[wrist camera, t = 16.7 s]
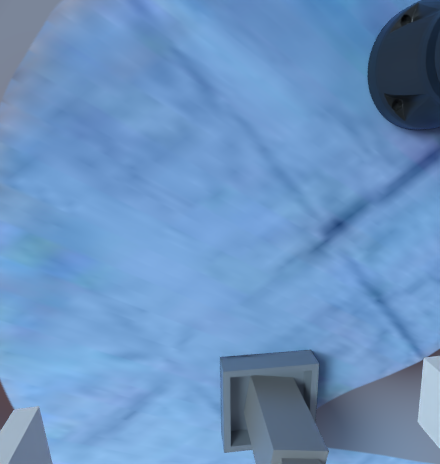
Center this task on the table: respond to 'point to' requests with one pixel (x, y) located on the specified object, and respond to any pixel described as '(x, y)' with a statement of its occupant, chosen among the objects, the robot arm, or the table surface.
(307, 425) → the perfume bottle
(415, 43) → the robot arm
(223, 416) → the tray
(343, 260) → the table surface
